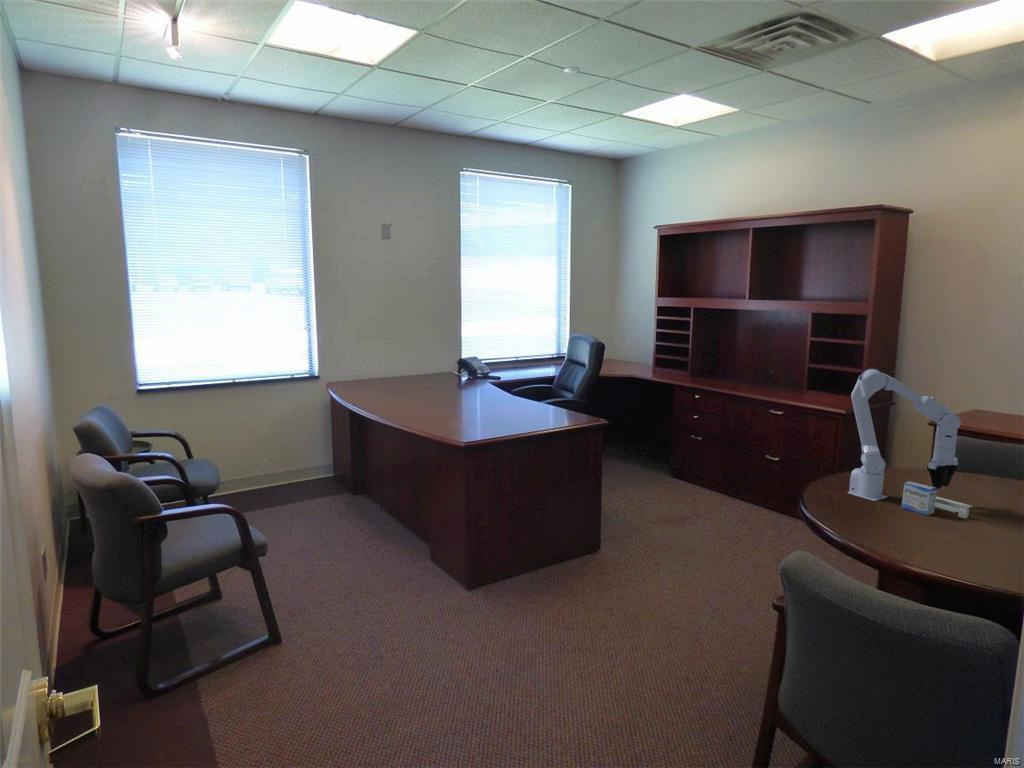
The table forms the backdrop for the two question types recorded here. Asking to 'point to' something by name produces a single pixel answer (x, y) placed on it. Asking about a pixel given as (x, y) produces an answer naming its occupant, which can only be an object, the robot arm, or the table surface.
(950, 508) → the sage mat
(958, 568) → the table surface
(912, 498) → the medicine box
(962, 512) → the gray bar handle
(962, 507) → the grey bar
